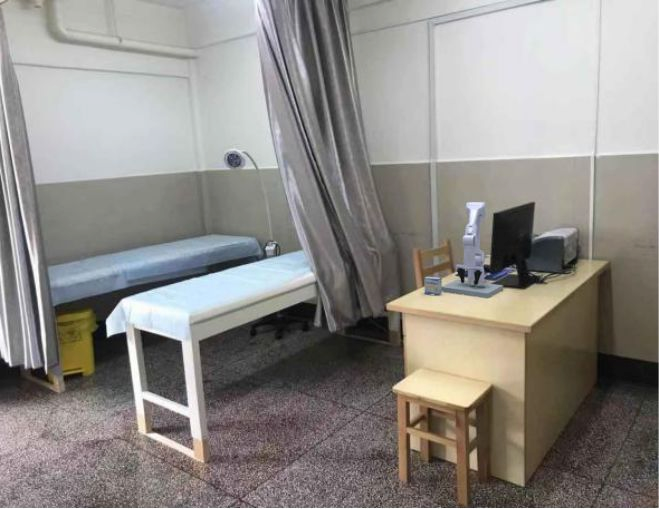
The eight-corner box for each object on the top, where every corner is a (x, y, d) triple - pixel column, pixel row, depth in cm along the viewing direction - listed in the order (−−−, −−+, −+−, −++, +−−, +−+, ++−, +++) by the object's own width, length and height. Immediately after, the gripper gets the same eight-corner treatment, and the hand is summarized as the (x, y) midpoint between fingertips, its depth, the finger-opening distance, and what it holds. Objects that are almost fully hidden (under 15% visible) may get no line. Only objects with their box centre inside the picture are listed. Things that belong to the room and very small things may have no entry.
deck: (440, 291, 285) (440, 286, 285) (457, 284, 299) (457, 279, 298) (488, 298, 269) (488, 293, 268) (503, 290, 282) (503, 285, 281)
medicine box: (424, 294, 281) (424, 278, 280) (427, 292, 285) (426, 276, 284) (439, 295, 278) (439, 279, 276) (441, 293, 282) (441, 277, 280)
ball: (477, 283, 283) (471, 286, 285) (474, 277, 283) (468, 280, 285) (476, 285, 280) (470, 287, 282) (473, 279, 280) (467, 281, 282)
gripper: (453, 257, 283) (453, 283, 285) (479, 260, 273) (479, 286, 276) (459, 255, 288) (459, 280, 291) (485, 258, 279) (485, 283, 281)
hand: (469, 283), depth 284 cm, fingers open, 7 cm apart
